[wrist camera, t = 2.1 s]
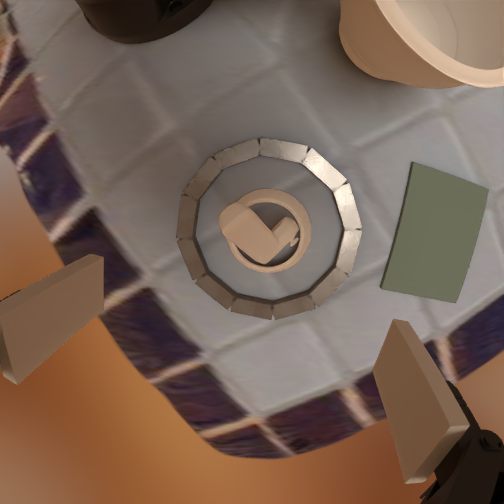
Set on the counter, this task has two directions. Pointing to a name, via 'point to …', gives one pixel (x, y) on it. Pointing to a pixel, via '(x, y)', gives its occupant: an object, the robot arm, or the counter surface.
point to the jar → (426, 41)
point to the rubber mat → (435, 235)
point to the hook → (265, 230)
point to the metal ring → (248, 303)
